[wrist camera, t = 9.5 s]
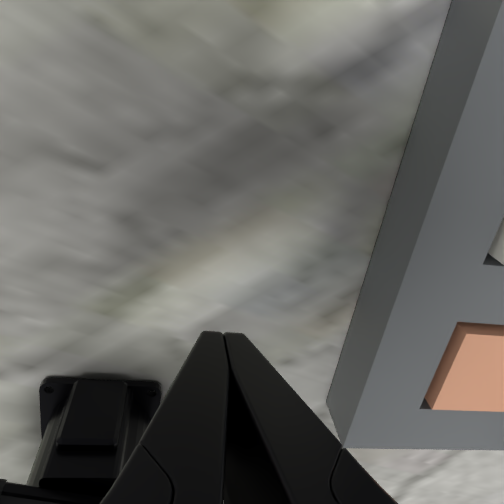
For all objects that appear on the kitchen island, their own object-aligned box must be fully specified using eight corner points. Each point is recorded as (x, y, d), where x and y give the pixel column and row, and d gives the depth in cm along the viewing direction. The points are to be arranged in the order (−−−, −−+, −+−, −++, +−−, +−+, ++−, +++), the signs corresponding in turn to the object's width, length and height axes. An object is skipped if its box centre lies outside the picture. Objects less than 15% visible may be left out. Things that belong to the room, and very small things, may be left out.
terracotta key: (482, 374, 28) (513, 412, 25) (407, 371, 27) (431, 409, 24) (516, 306, 25) (554, 339, 23) (436, 300, 25) (466, 334, 22)
